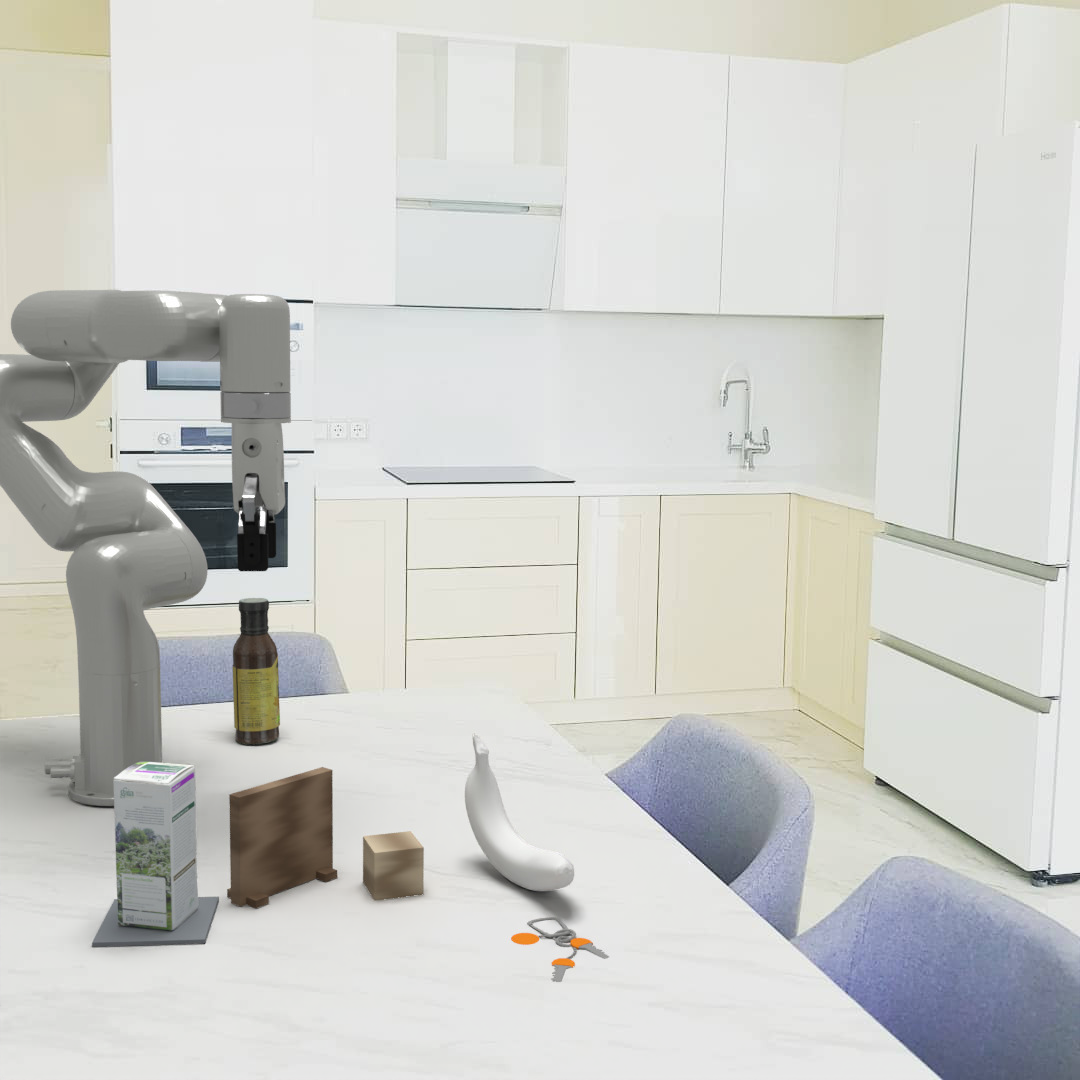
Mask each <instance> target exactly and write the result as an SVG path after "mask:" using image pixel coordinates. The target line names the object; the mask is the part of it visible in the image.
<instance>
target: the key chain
mask: <svg viewBox="0 0 1080 1080" xmlns="http://www.w3.org/2000/svg"><path fill="white" fill-rule="evenodd" d="M549 920H550V921H551V920H553V921H556V922H557V923H558V924H559V926H561V927H562V928H561V929H559V930H556V931H554V933H548V932H545V931H543V930H541V929H540V928H539V927H537V926H535V925H534V923H537V922H543V921H549ZM526 923H527V925H528V926H529V927H532V928H533V929H534V930H536V931H537V932H539V933H541V934H542V935H537V934H535V933H532V932H519V933H516V934H513V935H511V938H510V940H511V942H513V943H515V944H517V945H522V946H527V945H529V946H531V945H534V944H536V943H538V942H539V941H540V938H545V937H546V938H549V939H550V938H552V940H553V941H555V942H556V944H557V945H558V946H560V947H563V948H571V949H572V950H573V952H572V954H571V955H569V956H567V957H565V958H564V957H560V958H556V959H553V961H552V962H551V966H552V967H554V968H553V970H554V971H553V972H552V977H551V981H552V982H555V981H556V982H555V983H561V982H563V978H564V975H565V973H566V970H569V969H573V968H574V967H575V966H576V963H575V961H574V960H572V959H573V958H574V957H575V956H576V955H577V952H578V950H585V951H587V952H589V953H590V954H591V953H592V954H593V955H595V956H597V957H599V958H602V959H603V960H605V959H608V958H610V955H608V954H606V953H605V952H604V951H603V950H602V949H600V948H597V947H596V946H595V945H593V944H594V943H593V941H592V940H590V939H588V938H584V937H577V933H576V931H575V930H573V929H571V928H568V926H567V924H565V922H564V921H563V920H562V919H561V918H559V917H557V916H548V917H540V918H535V919H531V920H529V921H528V922H526ZM570 934H571V936H568V935H570ZM567 943H568V944H567ZM569 943H570V944H569ZM573 956H574V957H573ZM573 966H574V967H573Z"/></svg>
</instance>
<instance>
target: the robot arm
mask: <svg viewBox="0 0 1080 1080" xmlns="http://www.w3.org/2000/svg"><path fill="white" fill-rule="evenodd" d="M10 318H11V319H10V329H11V334H12V337H13V338H14V340H15V341H16V344H18V346H19V347H20V348H21V349H23V351H25V352H26V353H27V354H7V353H6V354H5V353H3V354H0V487H1V488H2V489H3V491H4V492H5V493H6V495H7V496H8V498H9V499H10V500H11V502H12V503H13V504H14V505H15V507H16V508H17V509H18V511H19V512H20V513H21V515H22V516H23V517H24V518H25V519H26V521H27V522H28V523H29V524H30V526H31V527H32V528H33V530H34V531H35V532H36V533H37V534H38V536H39V537H40V538H41V539H42V541H44V542H45V543H46V544H47V545H48V546H49V547H51V548H53V549H54V550H56V551H58V552H72V553H71V555H70V557H69V559H68V561H67V565H66V569H65V570H66V571H65V580H66V588H67V591H68V596H69V597H68V598H69V600H70V605H71V609H72V613H73V619H74V626H75V635H76V649H77V650H76V651H77V673H78V674H77V675H78V677H77V678H78V680H77V681H78V707H79V710H78V711H79V742H80V743H79V745H80V748H79V749H80V753H79V755H73V756H72V758H65V759H64V758H61V757H60V758H46V759H45V764H44V772H45V775H50V778H51V779H63V778H69V779H70V780H71V782H70V783H69V784H68V786H67V789H68V790H67V791H68V793H67V794H68V796H69V798H70V799H71V800H73V801H75V802H77V803H80V804H84V805H88V806H96V807H114V785H113V780H114V777H116V776H117V775H118V774H120V773H121V772H122V771H123V770H125V769H126V768H128V767H130V766H132V765H133V764H136V763H138V762H141V761H144V762H158V763H163V732H162V731H163V730H162V724H163V723H162V690H161V689H162V686H161V683H162V681H161V654H160V653H161V652H160V645H159V641H158V638H157V636H156V633H155V632H154V630H153V628H152V627H151V625H150V623H149V622H148V619H147V618H146V616H145V612H144V611H147V610H150V609H155V608H160V607H165V606H170V605H171V606H172V605H175V604H179V603H183V602H186V601H189V600H191V599H193V598H194V597H195V596H197V595H198V594H199V593H200V592H201V591H202V589H203V588H204V586H205V585H206V582H207V578H208V571H209V570H208V562H207V558H206V554H205V551H204V550H203V547H202V546H201V543H200V542H199V540H198V539H197V537H196V536H195V535H194V533H193V532H192V531H191V530H190V528H189V527H188V526H187V525H186V524H185V522H184V521H183V520H182V519H181V517H180V516H179V515H178V514H177V513H176V512H175V510H173V508H172V507H171V506H170V505H169V503H168V502H167V501H166V500H165V499H164V498H163V496H162V495H161V494H160V493H159V492H158V491H157V489H155V488H154V486H153V485H152V484H151V483H150V482H148V481H147V480H146V479H144V478H142V477H141V476H139V475H137V474H135V473H131V472H128V471H119V470H118V471H101V472H91V471H90V472H89V471H85V470H82V469H80V468H78V467H77V466H76V465H75V464H74V463H73V462H72V460H70V459H69V458H68V457H67V455H66V454H65V452H64V451H63V450H62V449H61V448H60V447H59V446H58V444H57V443H55V442H54V441H53V440H52V439H50V438H49V437H47V435H44V434H42V433H41V432H40V431H38V430H36V429H34V428H32V427H30V426H29V425H27V424H26V423H28V422H29V423H30V422H50V421H51V422H56V421H58V422H59V421H65V420H70V419H73V418H74V417H77V416H78V415H80V414H81V413H82V412H84V411H85V410H86V409H87V407H88V406H89V405H91V402H92V401H93V400H94V398H95V397H96V396H97V395H98V393H99V392H100V390H101V389H102V387H103V386H104V385H105V383H107V381H108V379H109V378H110V377H111V375H112V374H113V373H114V371H115V370H116V369H117V367H119V364H121V363H125V362H129V361H146V362H147V361H149V362H150V361H151V362H153V361H154V362H200V363H201V362H202V363H204V362H205V363H208V362H209V363H210V362H213V363H216V362H217V363H218V362H219V387H220V389H219V390H220V422H221V423H224V424H231V481H232V502H233V511H234V512H236V513H237V514H238V525H237V526H238V529H237V530H238V533H237V534H236V537H237V539H236V542H237V543H236V544H237V545H236V546H237V551H236V553H237V554H236V555H237V556H236V557H237V558H236V559H237V570H238V571H239V572H267V571H268V569H269V559H274V558H276V556H277V522H275V518H276V517H275V515H278V514H279V513H280V512H281V511H282V510H283V509H284V508H285V506H286V493H285V492H286V490H285V457H284V456H285V454H284V452H285V451H284V438H283V437H284V435H283V426H282V424H290V423H292V418H291V417H292V415H291V414H292V412H291V411H292V409H291V407H292V405H291V403H292V402H291V400H292V399H291V396H292V395H291V312H290V307H289V303H288V302H287V300H286V299H285V298H284V297H281V296H278V295H274V294H262V293H260V294H257V293H236V294H230V295H227V294H218V293H216V294H215V293H203V292H193V291H180V290H179V291H178V290H177V291H176V290H173V291H172V290H121V289H83V290H82V289H78V290H77V289H76V290H69V289H68V290H67V289H66V290H65V289H64V290H59V289H58V290H57V289H55V290H44V291H40V292H39V291H38V292H36V293H32V294H29V295H28V296H27V297H24V299H22V300H20V302H19V303H18V304H17V305H16V306H15V308H14V310H13V312H12V315H11V317H10Z"/></svg>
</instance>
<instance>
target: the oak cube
mask: <svg viewBox="0 0 1080 1080" xmlns="http://www.w3.org/2000/svg"><path fill="white" fill-rule="evenodd" d="M424 849H425V848H424V846H423V844H422V843H421V842H420V841H419V840H418V838H417V837H416V836H415V835H414V833H413V832H412V831H411V830H409V831H408V830H407V831H399V832H390V833H389V832H388V833H381V834H371V835H363V836H362V883H363V884H364V886H365V888H366V890H367V891H368V893H369V894H371V895H370V896H371V898H372V899H373V901H374V902H375V901H384V899H386V900H391V899H392V900H394V899H400V898H401V897H402V898H407V897H406V896H410V897H415V896H414V895H418V896H423V895H424V881H425V880H424V875H425V874H424V871H425V870H424V869H425V868H424V867H425V865H424V864H425V863H424V861H425V860H424V859H425V857H424V855H425V853H424V851H425V850H424ZM422 894H423V895H422ZM398 897H400V898H398ZM393 898H394V899H393Z"/></svg>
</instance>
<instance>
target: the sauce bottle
mask: <svg viewBox="0 0 1080 1080" xmlns="http://www.w3.org/2000/svg"><path fill="white" fill-rule="evenodd" d="M269 608H270V602H269V599H267V598H265V597H248V598H241V599H240V600H239V601H238V611H239V613H240V628H239V630H240V635H239V636H238V638H237V639H236V641H235V643H234V644H233V648H232V662H233V663H232V687H233V688H232V689H233V690H232V691H233V692H232V693H233V696H232V697H233V724H234V725H233V726H234V729H235V735H234V736H235V737H234V738H235V741H236V742H237V743H239V744H241V743H242V745H247V744H253V745H254V746H255V744H256V745H261V744H267V743H272V742H274V741H276V740H278V739H279V736H280V725H281V716H280V715H281V713H280V710H281V709H280V683H279V682H280V680H279V678H280V677H279V654H278V649H277V645H276V643H275V642H274V640H273V638H272V637H271V635H270V633H269V618H268V614H269Z"/></svg>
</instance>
